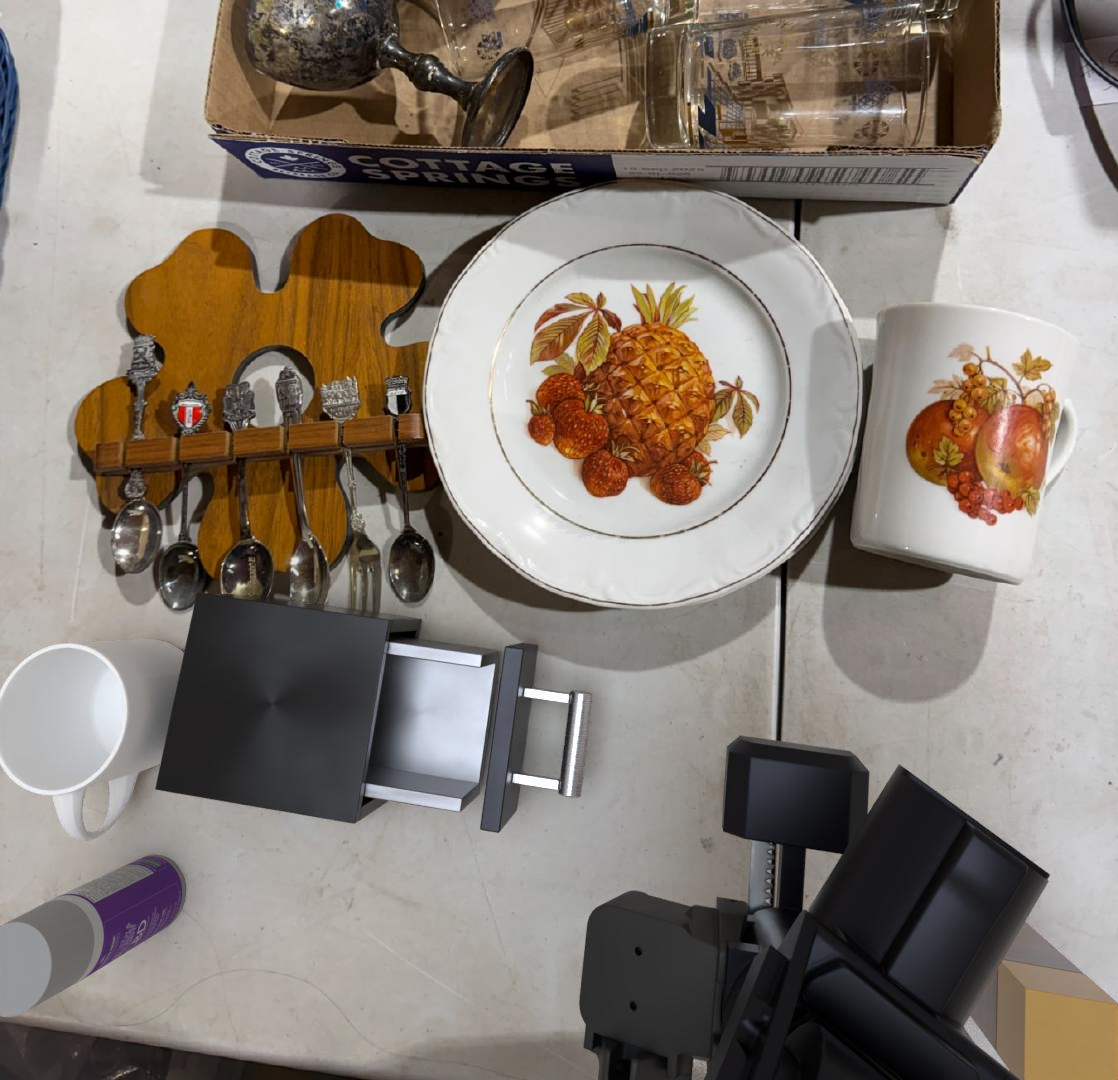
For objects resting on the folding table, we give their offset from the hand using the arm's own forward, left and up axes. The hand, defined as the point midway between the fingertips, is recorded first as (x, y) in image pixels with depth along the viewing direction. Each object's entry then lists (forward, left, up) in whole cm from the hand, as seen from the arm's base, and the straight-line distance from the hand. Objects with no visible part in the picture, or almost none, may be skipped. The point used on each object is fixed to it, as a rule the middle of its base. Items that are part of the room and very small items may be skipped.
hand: (767, 918), depth 52 cm
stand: (-2, -13, -13) cm, 18 cm away
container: (-8, +39, -13) cm, 42 cm away
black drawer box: (+6, +30, -13) cm, 33 cm away
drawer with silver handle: (+6, +19, -12) cm, 23 cm away
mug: (+2, +42, -13) cm, 44 cm away
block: (-2, -13, +4) cm, 13 cm away
